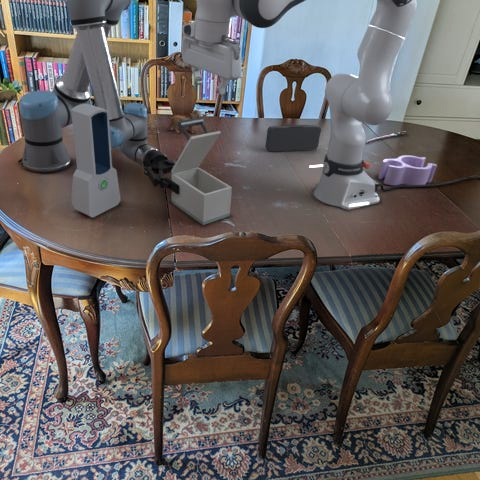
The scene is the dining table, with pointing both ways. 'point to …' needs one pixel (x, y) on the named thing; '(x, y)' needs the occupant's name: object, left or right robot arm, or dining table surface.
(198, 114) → the lion figurine
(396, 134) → the sword
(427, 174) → the clip
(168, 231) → the dining table surface
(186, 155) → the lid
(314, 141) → the handheld gaming console
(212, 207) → the chest
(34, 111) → the left robot arm
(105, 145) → the electronic device
